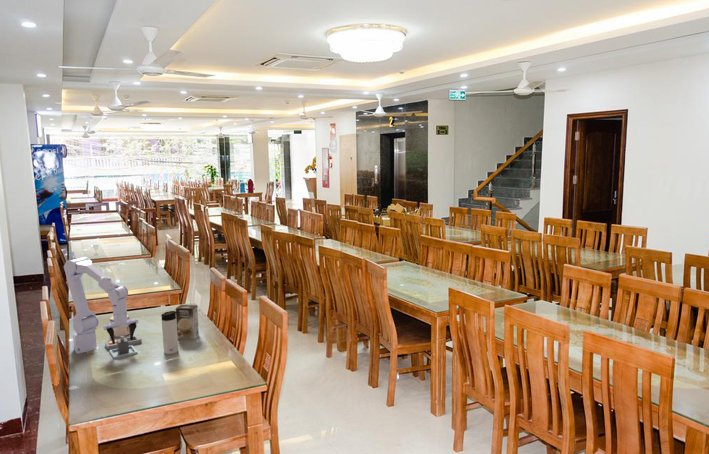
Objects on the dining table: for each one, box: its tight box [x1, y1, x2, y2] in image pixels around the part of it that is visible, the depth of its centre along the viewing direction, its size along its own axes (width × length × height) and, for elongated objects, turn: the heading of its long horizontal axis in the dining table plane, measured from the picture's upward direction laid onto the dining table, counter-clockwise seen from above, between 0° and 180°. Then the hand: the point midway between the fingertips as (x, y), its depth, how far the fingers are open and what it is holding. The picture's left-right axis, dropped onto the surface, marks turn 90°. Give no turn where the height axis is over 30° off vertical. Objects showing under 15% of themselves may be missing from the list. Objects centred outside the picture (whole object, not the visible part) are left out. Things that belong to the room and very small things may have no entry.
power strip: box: [104, 334, 143, 351], centre depth 243 cm, size 15×7×3 cm, turn 126°
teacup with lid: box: [109, 314, 130, 338], centre depth 260 cm, size 12×9×12 cm
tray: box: [108, 345, 139, 360], centre depth 233 cm, size 10×10×2 cm
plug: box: [116, 336, 129, 355], centre depth 232 cm, size 4×4×8 cm
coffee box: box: [175, 304, 200, 340], centre depth 252 cm, size 9×6×16 cm
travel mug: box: [161, 310, 179, 356], centre depth 232 cm, size 6×7×20 cm
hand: (122, 341), depth 232 cm, fingers open, 7 cm apart
